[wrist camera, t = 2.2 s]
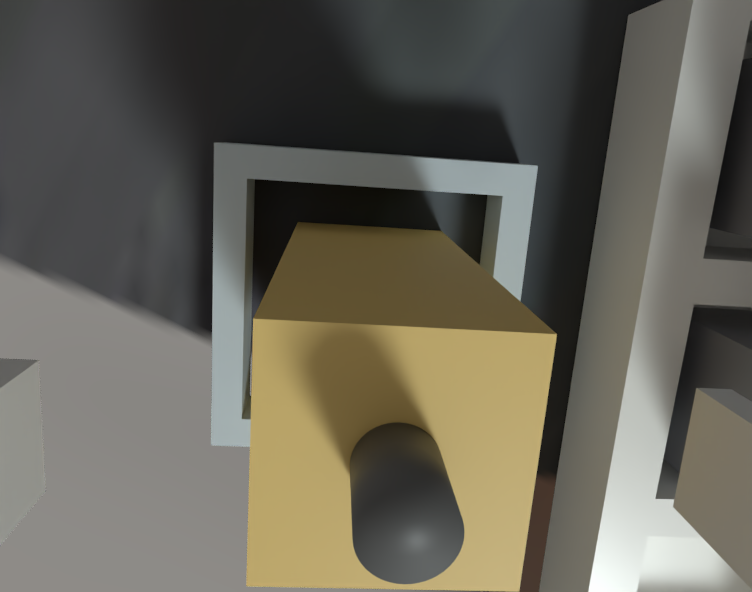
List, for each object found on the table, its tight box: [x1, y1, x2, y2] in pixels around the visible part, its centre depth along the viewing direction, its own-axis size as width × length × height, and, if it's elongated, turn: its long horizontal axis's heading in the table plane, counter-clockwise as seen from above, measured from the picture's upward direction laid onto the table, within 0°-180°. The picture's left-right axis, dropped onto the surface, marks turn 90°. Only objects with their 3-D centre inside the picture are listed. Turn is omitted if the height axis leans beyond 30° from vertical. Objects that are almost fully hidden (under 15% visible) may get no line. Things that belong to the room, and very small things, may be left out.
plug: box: [246, 222, 557, 591], centre depth 16 cm, size 5×5×14 cm
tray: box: [211, 142, 538, 447], centre depth 21 cm, size 10×10×2 cm
